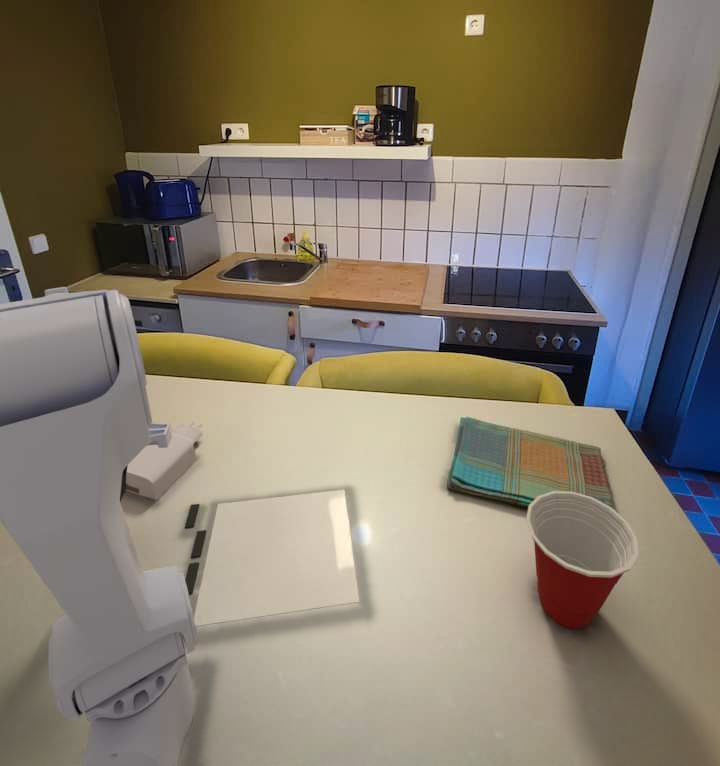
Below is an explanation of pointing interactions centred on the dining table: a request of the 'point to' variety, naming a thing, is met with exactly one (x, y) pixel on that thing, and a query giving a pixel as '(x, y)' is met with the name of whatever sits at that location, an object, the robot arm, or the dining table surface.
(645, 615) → the dining table surface
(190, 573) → the ink strip
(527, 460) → the dish towel
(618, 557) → the plastic cup
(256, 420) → the dining table surface
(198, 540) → the ink strip
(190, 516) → the ink strip
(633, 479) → the dining table surface
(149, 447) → the charger
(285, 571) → the whiteboard
